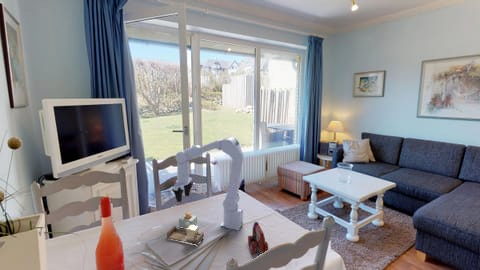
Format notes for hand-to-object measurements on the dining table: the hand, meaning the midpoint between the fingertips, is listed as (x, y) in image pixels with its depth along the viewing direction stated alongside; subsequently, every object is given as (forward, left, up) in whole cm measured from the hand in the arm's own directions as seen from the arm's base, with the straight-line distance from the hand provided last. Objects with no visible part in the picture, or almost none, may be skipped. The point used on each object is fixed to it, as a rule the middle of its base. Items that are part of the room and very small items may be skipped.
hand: (183, 198), depth 120 cm
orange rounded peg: (-7, +8, -6) cm, 12 cm away
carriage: (-15, +18, -8) cm, 25 cm away
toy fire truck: (-43, +11, -10) cm, 45 cm away
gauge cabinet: (-7, +8, -10) cm, 15 cm away
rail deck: (-11, +17, -10) cm, 23 cm away
